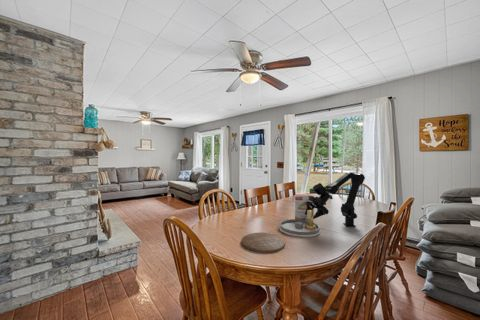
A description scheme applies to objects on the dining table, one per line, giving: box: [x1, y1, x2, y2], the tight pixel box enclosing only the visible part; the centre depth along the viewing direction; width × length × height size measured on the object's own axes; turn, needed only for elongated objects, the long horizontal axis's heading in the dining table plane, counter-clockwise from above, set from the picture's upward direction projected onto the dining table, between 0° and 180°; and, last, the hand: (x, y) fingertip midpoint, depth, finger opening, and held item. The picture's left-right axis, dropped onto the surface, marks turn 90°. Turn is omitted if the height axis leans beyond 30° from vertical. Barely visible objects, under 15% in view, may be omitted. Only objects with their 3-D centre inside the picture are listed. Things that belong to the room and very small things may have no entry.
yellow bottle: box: [305, 210, 316, 230], centre depth 140 cm, size 7×7×12 cm
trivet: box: [241, 232, 286, 254], centre depth 118 cm, size 25×25×2 cm
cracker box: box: [294, 193, 315, 223], centre depth 159 cm, size 14×6×21 cm, turn 73°
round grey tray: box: [278, 218, 321, 238], centre depth 141 cm, size 27×27×4 cm
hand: (309, 216), depth 140 cm, fingers open, 9 cm apart
